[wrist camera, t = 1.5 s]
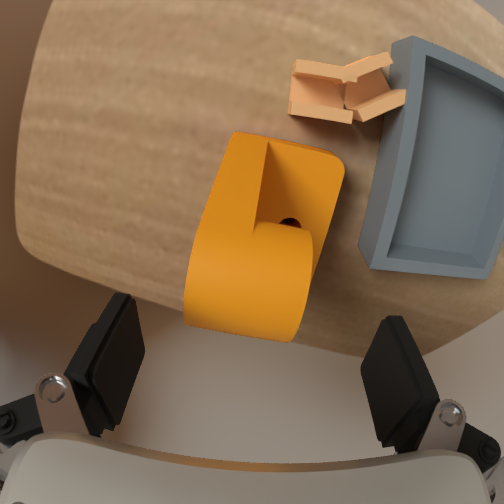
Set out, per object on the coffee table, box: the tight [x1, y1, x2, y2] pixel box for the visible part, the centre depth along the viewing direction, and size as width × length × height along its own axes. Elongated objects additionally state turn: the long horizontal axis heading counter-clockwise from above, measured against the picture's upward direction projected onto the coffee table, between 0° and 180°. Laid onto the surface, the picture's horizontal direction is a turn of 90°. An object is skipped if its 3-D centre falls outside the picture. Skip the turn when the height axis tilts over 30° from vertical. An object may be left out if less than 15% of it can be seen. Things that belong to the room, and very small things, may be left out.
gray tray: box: [358, 36, 504, 280], centre depth 18 cm, size 12×16×4 cm
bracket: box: [183, 131, 345, 343], centre depth 17 cm, size 11×7×12 cm, turn 169°
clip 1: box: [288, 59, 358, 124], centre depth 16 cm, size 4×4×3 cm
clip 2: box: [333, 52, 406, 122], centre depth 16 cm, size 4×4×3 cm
